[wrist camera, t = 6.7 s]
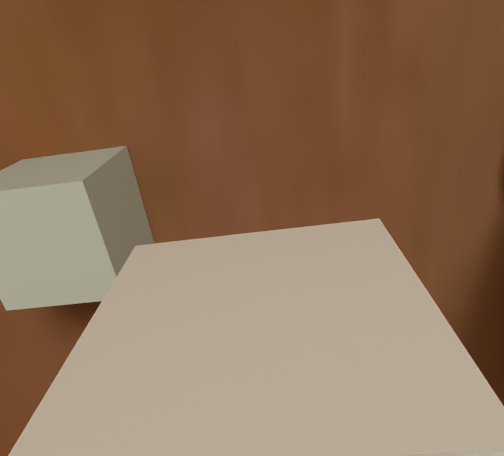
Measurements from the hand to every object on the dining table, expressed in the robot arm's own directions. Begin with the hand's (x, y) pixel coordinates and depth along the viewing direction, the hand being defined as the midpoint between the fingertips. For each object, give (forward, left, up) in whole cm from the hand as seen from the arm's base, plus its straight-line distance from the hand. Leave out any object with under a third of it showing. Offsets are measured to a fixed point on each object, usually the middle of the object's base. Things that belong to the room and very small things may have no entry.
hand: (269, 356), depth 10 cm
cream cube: (0, 0, -1) cm, 1 cm away
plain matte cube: (+8, +7, -14) cm, 18 cm away
